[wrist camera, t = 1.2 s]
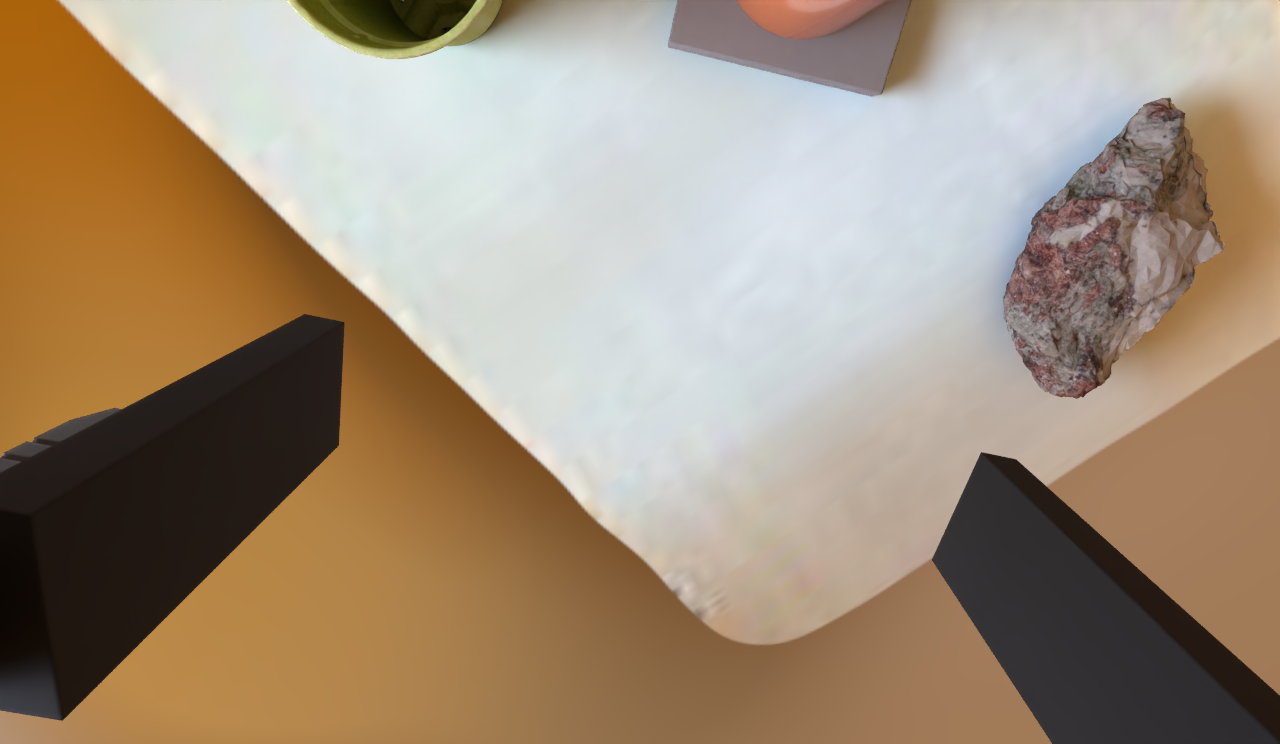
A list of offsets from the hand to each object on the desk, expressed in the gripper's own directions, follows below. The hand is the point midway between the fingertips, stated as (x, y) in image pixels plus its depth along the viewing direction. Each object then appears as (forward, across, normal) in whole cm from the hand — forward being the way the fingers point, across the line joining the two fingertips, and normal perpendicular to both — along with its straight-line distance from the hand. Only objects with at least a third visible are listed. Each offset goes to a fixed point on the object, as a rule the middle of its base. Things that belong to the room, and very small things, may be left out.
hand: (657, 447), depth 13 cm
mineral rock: (+25, +23, +5) cm, 34 cm away
